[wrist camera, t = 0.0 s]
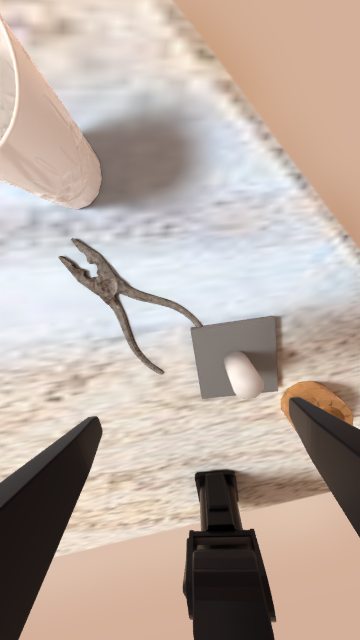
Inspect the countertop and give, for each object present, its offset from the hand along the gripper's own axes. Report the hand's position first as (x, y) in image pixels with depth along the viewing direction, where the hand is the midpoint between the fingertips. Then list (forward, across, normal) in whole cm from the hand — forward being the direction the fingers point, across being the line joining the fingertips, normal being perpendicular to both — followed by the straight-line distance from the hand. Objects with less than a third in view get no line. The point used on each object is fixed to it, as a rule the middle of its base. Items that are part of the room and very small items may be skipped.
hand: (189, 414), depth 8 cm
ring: (+15, -14, +13) cm, 24 cm away
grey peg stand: (+15, -5, +5) cm, 16 cm away
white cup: (+15, +10, -19) cm, 26 cm away
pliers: (+15, +8, -3) cm, 17 cm away
